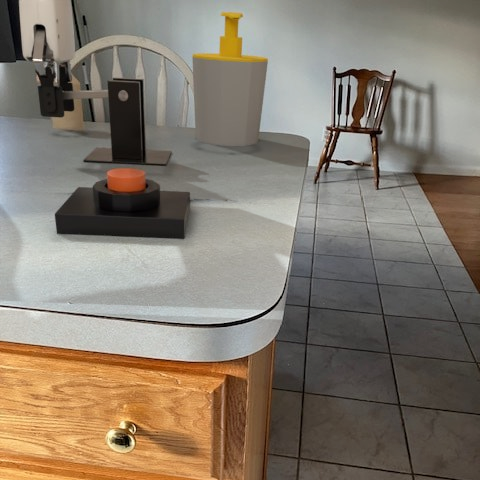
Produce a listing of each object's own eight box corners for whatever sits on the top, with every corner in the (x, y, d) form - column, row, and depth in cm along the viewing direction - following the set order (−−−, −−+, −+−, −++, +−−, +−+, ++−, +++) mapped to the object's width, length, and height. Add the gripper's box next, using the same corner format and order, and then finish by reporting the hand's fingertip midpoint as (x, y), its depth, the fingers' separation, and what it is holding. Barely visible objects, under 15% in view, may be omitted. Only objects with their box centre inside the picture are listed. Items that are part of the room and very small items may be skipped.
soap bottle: (196, 151, 93) (198, 9, 83) (187, 136, 104) (188, 10, 94) (269, 152, 96) (280, 15, 85) (253, 137, 107) (261, 14, 96)
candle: (49, 129, 103) (42, 72, 98) (76, 127, 106) (71, 72, 101) (61, 135, 99) (55, 75, 95) (89, 132, 103) (84, 75, 98)
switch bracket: (83, 168, 79) (76, 80, 73) (96, 154, 87) (90, 74, 81) (166, 172, 80) (164, 85, 74) (171, 158, 88) (170, 79, 82)
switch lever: (49, 106, 77) (46, 88, 76) (58, 102, 81) (55, 84, 80) (134, 104, 77) (132, 86, 76) (139, 99, 81) (137, 82, 80)
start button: (104, 193, 56) (103, 176, 56) (111, 183, 60) (110, 167, 59) (143, 195, 57) (142, 178, 56) (147, 184, 60) (147, 169, 59)
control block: (56, 234, 55) (52, 196, 53) (79, 205, 64) (76, 171, 62) (184, 239, 56) (184, 201, 54) (189, 209, 65) (190, 176, 63)
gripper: (35, -30, 78) (49, 104, 87) (-10, -42, 63) (12, 121, 72) (88, -26, 79) (96, 107, 87) (56, -37, 64) (69, 125, 72)
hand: (58, 112), depth 80 cm, fingers closed on switch lever, 5 cm apart
